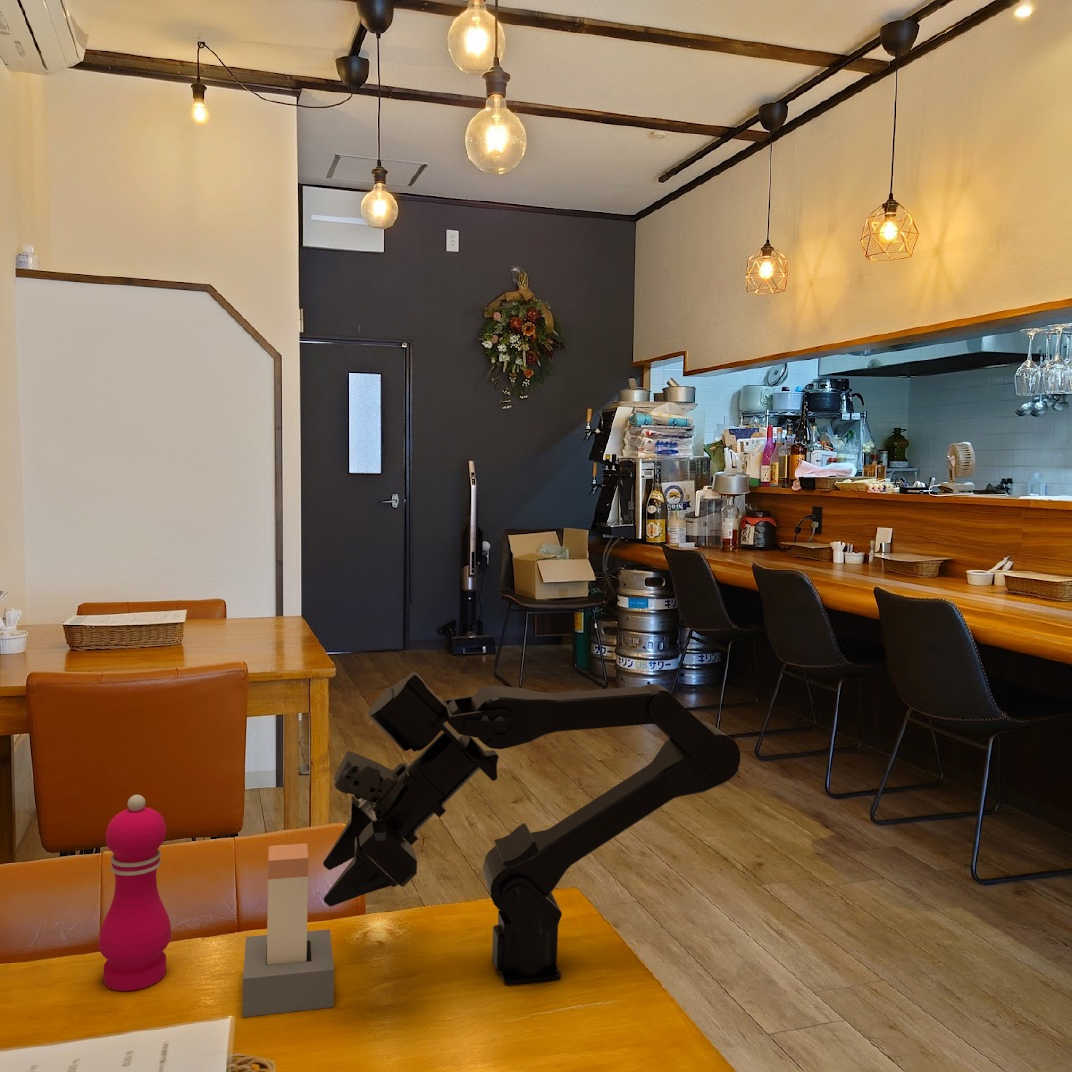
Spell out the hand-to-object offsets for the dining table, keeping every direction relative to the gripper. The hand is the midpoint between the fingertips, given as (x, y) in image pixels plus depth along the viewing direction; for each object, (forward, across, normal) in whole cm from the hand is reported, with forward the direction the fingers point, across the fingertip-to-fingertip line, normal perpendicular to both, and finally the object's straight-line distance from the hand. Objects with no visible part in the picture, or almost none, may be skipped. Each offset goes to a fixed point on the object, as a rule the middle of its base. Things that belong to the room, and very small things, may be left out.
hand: (326, 884), depth 102 cm
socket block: (+10, 0, +5) cm, 12 cm away
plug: (+11, 0, +5) cm, 12 cm away
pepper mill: (+22, -5, -6) cm, 24 cm away
